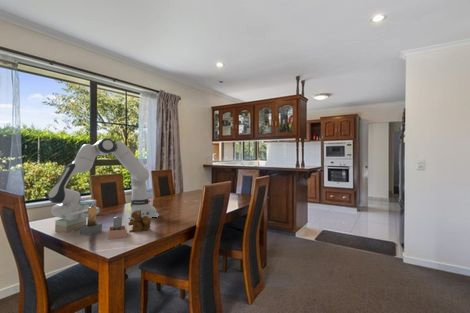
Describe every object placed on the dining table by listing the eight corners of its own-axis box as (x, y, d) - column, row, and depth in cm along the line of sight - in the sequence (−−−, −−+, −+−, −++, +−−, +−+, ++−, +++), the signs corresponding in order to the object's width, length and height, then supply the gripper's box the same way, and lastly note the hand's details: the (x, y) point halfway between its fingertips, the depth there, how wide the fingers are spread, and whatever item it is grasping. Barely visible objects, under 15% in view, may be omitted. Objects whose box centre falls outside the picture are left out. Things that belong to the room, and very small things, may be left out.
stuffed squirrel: (131, 228, 160) (132, 208, 160) (153, 228, 161) (154, 208, 162) (126, 233, 150) (126, 212, 151) (149, 233, 152) (150, 212, 152)
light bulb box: (85, 215, 189) (86, 202, 189) (78, 215, 190) (78, 201, 190) (96, 212, 199) (96, 199, 200) (89, 212, 201) (89, 199, 201)
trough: (75, 225, 164) (75, 215, 164) (86, 226, 161) (86, 216, 161) (55, 231, 150) (55, 220, 150) (66, 232, 148) (66, 221, 148)
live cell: (95, 223, 151) (96, 204, 151) (95, 225, 147) (96, 206, 147) (87, 224, 149) (88, 205, 149) (87, 226, 145) (87, 206, 145)
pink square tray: (125, 233, 150) (125, 225, 150) (126, 238, 141) (126, 229, 141) (108, 235, 146) (108, 226, 146) (107, 240, 137) (108, 231, 137)
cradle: (92, 230, 153) (93, 222, 153) (101, 232, 151) (102, 223, 151) (80, 234, 144) (80, 225, 144) (89, 236, 142) (89, 227, 143)
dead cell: (121, 234, 146) (121, 214, 147) (121, 236, 143) (122, 216, 143) (112, 235, 144) (113, 215, 145) (112, 237, 141) (113, 217, 141)
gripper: (59, 210, 141) (78, 212, 138) (89, 204, 161) (106, 206, 157) (59, 221, 141) (77, 224, 138) (88, 213, 161) (105, 215, 157)
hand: (93, 214), depth 148 cm, fingers closed on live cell, 4 cm apart
